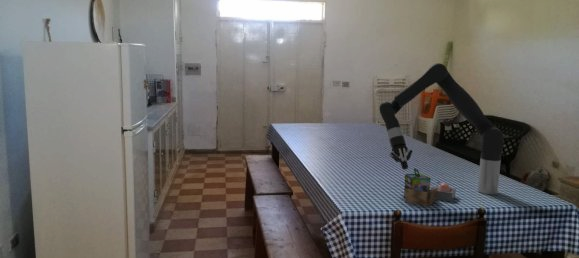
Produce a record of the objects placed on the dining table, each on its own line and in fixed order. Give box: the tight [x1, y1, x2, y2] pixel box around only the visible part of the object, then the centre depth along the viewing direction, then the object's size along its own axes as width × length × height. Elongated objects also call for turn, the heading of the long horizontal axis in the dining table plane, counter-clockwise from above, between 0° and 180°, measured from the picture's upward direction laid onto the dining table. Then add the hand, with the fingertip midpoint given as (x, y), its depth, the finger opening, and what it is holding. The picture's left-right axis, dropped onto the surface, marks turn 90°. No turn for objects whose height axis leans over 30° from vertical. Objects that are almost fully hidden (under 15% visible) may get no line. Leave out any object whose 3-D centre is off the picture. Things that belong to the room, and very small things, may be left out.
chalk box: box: [403, 167, 432, 198], centre depth 203 cm, size 9×9×15 cm
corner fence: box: [404, 187, 436, 207], centre depth 201 cm, size 11×11×6 cm
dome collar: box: [434, 185, 457, 202], centre depth 207 cm, size 9×9×4 cm
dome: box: [437, 182, 451, 192], centre depth 207 cm, size 6×6×6 cm
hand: (405, 169), depth 218 cm, fingers closed
